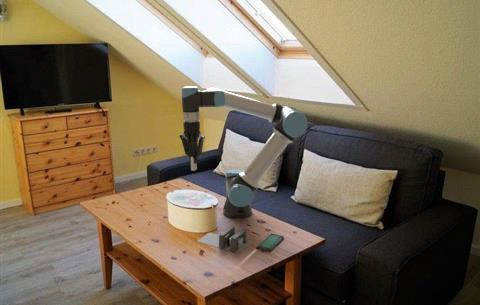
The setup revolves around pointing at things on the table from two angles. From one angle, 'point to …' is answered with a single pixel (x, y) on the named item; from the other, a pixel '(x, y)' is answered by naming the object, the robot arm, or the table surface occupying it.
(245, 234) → the grey angular piece
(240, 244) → the grey block
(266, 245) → the smartphone
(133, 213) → the table surface
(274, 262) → the table surface
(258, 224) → the table surface
